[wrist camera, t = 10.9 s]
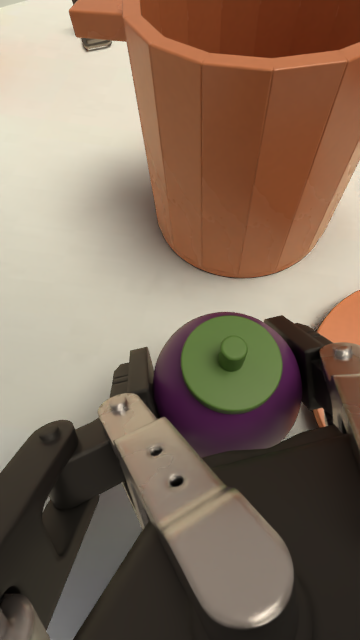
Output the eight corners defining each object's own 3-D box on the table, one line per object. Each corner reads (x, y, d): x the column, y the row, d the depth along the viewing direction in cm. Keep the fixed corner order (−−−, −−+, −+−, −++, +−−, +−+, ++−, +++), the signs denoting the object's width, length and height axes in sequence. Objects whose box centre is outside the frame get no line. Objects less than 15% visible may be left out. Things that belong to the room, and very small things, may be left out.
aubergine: (256, 483, 15) (327, 488, 7) (155, 449, 16) (103, 416, 7) (275, 382, 17) (347, 286, 9) (185, 357, 18) (170, 249, 10)
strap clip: (77, 15, 37) (63, -37, 33) (103, 10, 37) (91, -43, 34) (84, 52, 33) (69, -3, 30) (113, 46, 34) (101, -9, 30)
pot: (360, 306, 19) (553, 96, 8) (98, 249, 22) (5, 44, 12) (371, 173, 23) (503, -68, 13) (153, 141, 26) (122, -74, 16)
